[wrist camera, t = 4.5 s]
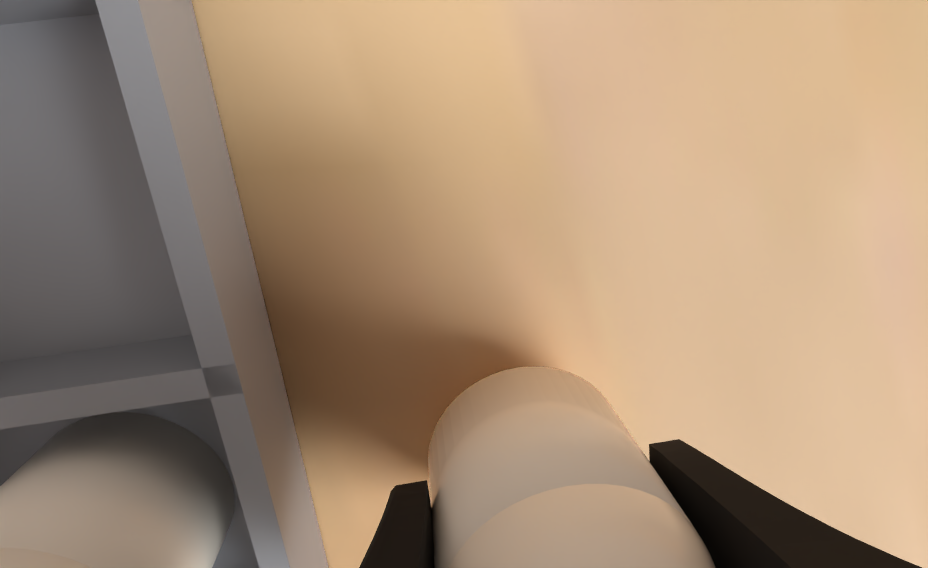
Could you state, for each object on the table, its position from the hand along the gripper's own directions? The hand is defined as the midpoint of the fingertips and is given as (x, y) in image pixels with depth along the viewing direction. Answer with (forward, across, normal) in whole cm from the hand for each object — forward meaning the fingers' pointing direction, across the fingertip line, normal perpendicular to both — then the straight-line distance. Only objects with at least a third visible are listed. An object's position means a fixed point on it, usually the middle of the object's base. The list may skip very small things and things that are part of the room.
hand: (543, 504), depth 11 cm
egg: (+2, 0, 0) cm, 2 cm away
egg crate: (+3, +9, 0) cm, 9 cm away
